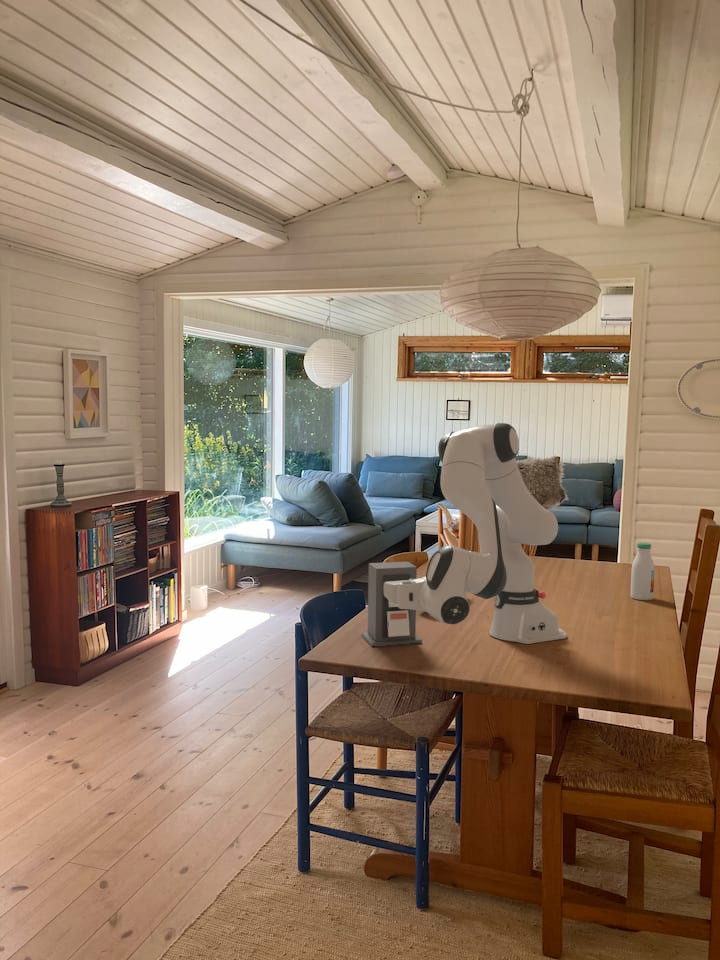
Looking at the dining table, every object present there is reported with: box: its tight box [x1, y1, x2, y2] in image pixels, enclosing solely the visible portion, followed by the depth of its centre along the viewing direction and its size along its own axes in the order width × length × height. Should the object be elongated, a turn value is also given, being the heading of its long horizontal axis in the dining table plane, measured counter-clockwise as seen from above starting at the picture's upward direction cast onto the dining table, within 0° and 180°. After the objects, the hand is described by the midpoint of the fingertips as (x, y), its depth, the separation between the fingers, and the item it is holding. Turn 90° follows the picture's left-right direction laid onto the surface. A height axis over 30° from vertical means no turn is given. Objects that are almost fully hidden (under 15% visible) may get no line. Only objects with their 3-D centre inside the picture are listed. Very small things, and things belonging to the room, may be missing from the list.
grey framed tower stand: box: [361, 561, 423, 647], centre depth 225 cm, size 15×11×22 cm
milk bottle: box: [630, 542, 655, 601], centre depth 279 cm, size 8×8×20 cm
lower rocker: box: [387, 610, 410, 637], centre depth 220 cm, size 6×1×7 cm, turn 105°
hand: (413, 581), depth 207 cm, fingers closed
